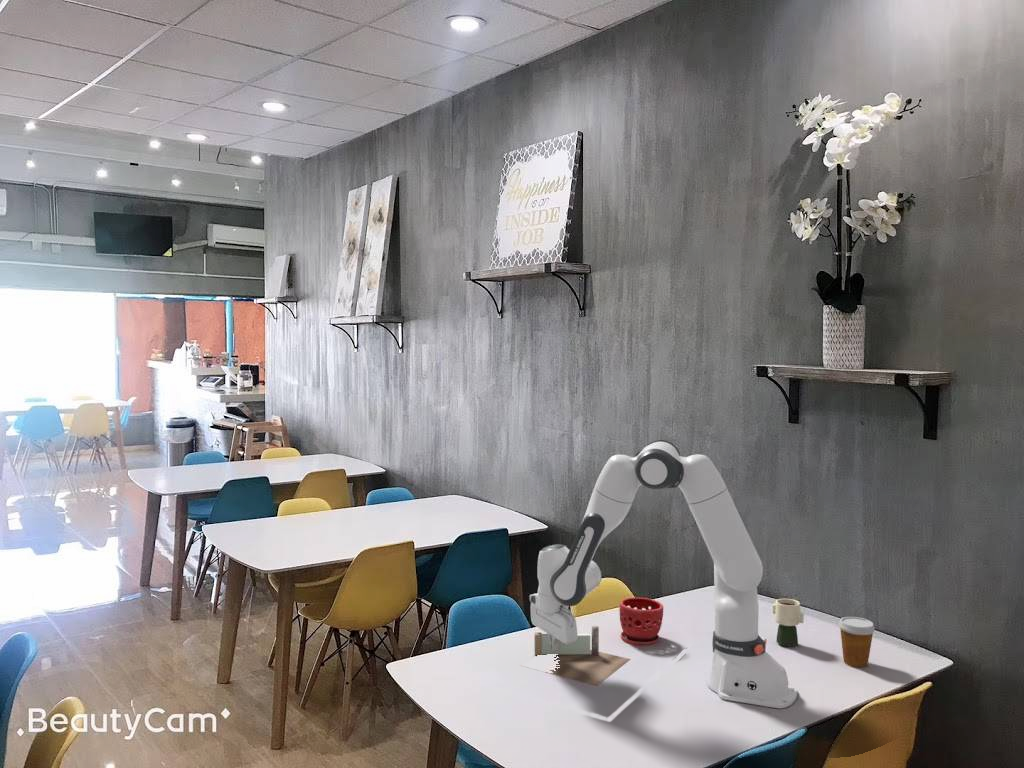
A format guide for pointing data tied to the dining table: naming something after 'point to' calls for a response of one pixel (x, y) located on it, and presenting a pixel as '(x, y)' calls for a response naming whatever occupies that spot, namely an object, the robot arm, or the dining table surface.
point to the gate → (561, 645)
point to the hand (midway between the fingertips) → (554, 649)
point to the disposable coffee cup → (856, 640)
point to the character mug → (787, 620)
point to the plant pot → (640, 620)
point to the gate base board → (589, 664)
